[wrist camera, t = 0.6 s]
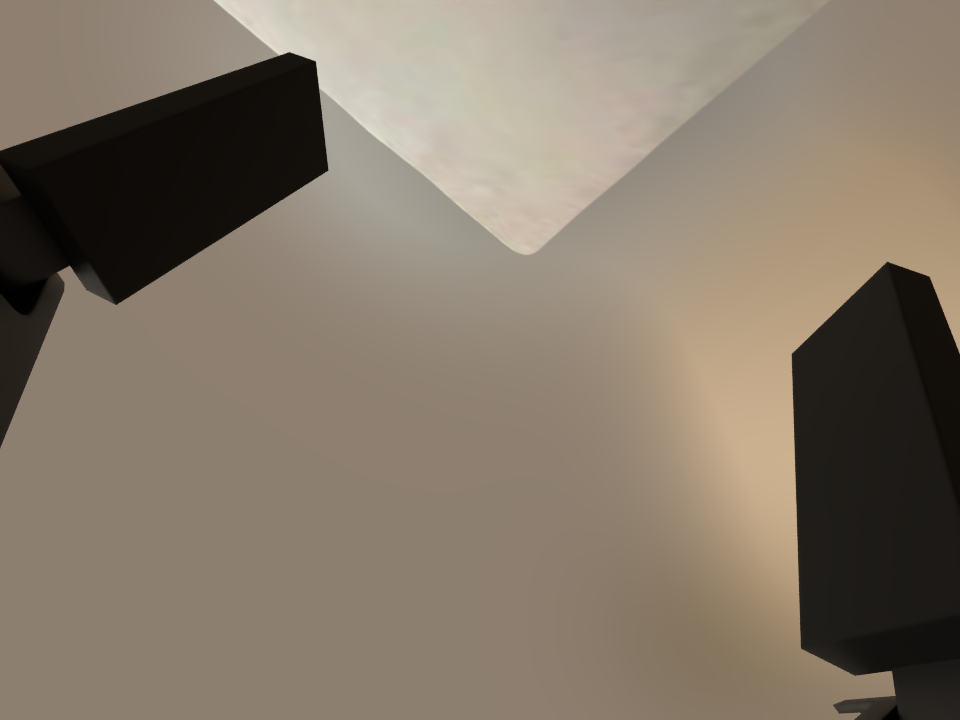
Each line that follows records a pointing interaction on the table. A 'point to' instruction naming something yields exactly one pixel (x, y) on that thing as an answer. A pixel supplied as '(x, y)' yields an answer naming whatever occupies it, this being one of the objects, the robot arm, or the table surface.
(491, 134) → the table surface
